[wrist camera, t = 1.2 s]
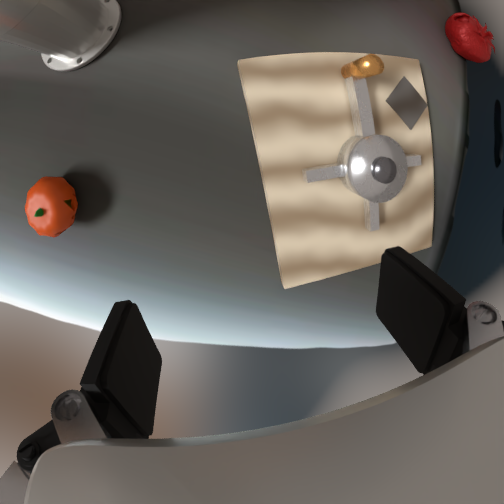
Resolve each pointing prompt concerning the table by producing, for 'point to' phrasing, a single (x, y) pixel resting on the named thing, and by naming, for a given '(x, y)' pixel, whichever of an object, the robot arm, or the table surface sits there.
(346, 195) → the wooden board
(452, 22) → the pomegranate
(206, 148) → the table surface
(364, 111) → the cylinder
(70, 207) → the pumpkin
